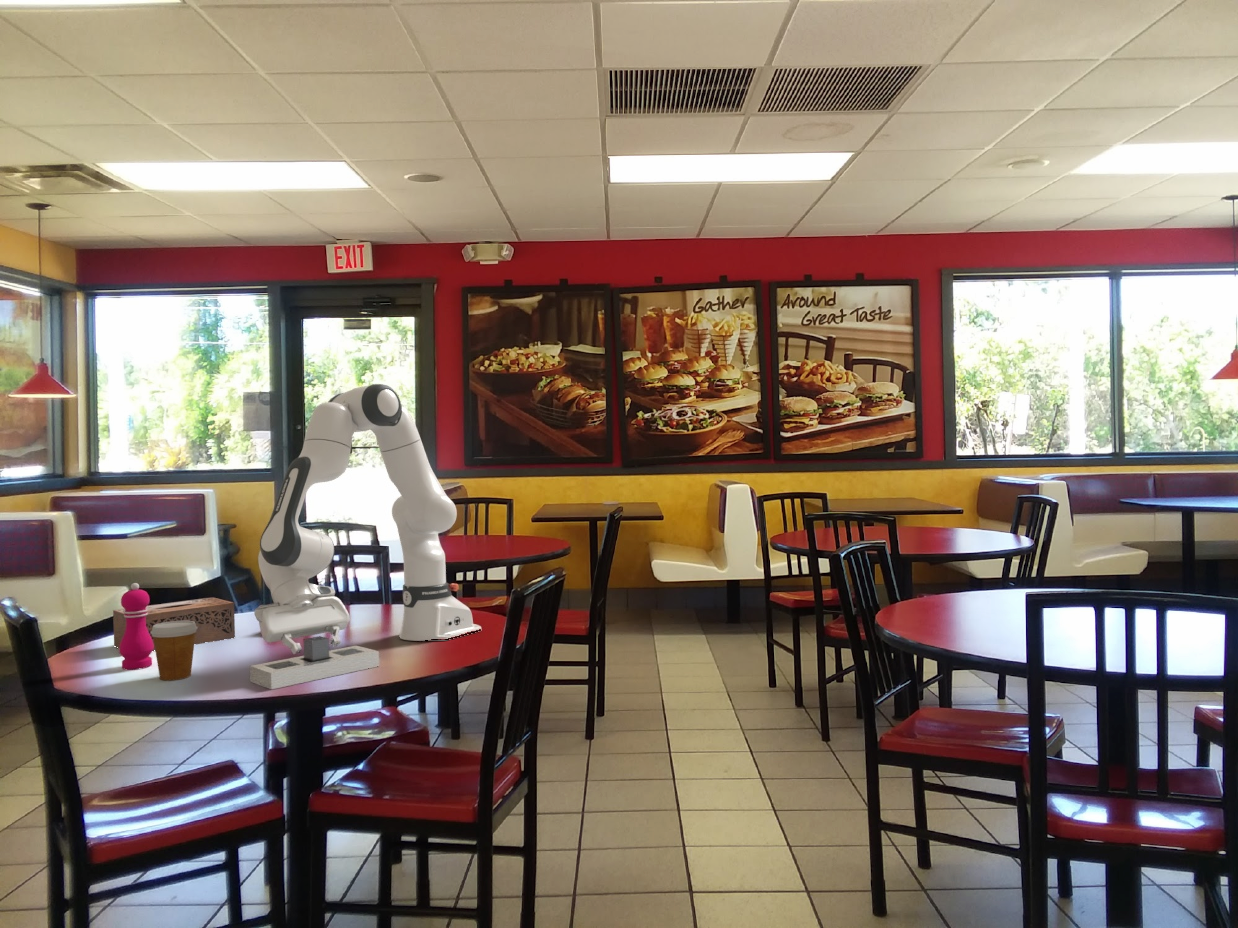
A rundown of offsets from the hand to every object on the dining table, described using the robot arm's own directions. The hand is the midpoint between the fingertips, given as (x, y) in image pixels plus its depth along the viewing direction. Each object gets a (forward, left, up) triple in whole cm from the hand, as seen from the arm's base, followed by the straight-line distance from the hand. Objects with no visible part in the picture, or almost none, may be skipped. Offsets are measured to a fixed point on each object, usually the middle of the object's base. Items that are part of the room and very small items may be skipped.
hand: (317, 648), depth 201 cm
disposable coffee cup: (+22, -24, -6) cm, 33 cm away
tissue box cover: (+7, -64, -6) cm, 64 cm away
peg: (0, -1, -6) cm, 6 cm away
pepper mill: (+24, -42, -6) cm, 48 cm away
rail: (0, -1, -6) cm, 6 cm away
